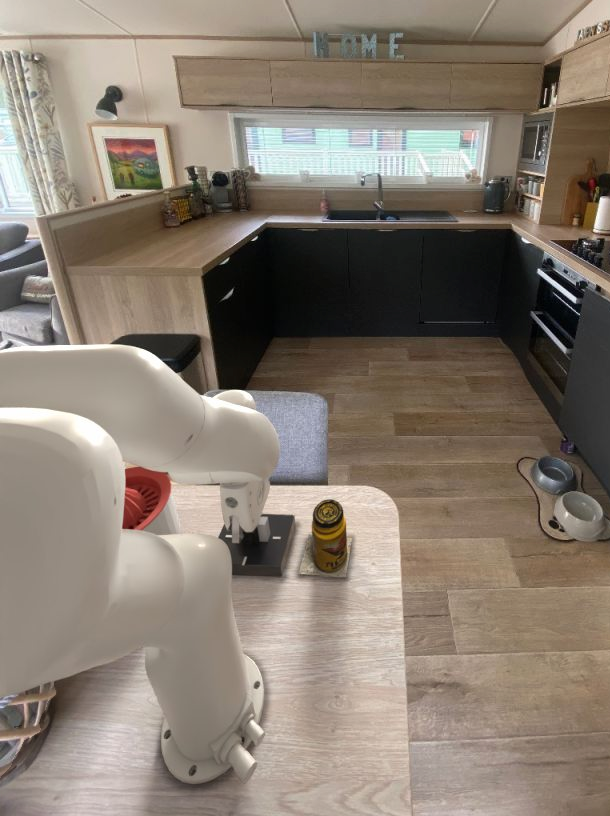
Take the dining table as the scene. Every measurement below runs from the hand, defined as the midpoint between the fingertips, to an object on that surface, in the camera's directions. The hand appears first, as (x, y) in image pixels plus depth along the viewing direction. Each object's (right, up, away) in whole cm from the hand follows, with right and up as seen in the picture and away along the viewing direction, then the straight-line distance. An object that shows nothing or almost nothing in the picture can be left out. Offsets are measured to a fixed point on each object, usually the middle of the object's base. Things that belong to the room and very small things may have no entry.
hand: (252, 536), depth 72 cm
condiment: (+14, -4, 0) cm, 14 cm away
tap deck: (0, -3, +1) cm, 3 cm away
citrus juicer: (-19, -5, -4) cm, 20 cm away
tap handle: (0, 0, 0) cm, 0 cm away
